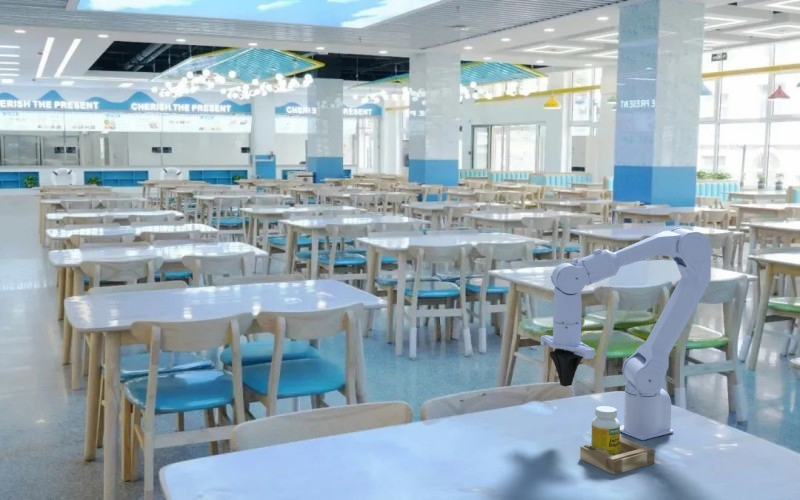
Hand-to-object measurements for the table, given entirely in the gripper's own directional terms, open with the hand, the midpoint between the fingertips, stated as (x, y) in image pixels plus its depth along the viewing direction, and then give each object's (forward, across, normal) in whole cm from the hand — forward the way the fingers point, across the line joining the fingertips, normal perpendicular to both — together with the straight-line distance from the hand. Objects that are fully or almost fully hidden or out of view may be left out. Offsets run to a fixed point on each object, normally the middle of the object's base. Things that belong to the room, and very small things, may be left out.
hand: (566, 385), depth 172 cm
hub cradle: (+10, +17, -2) cm, 20 cm away
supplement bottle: (+11, +14, -2) cm, 18 cm away
